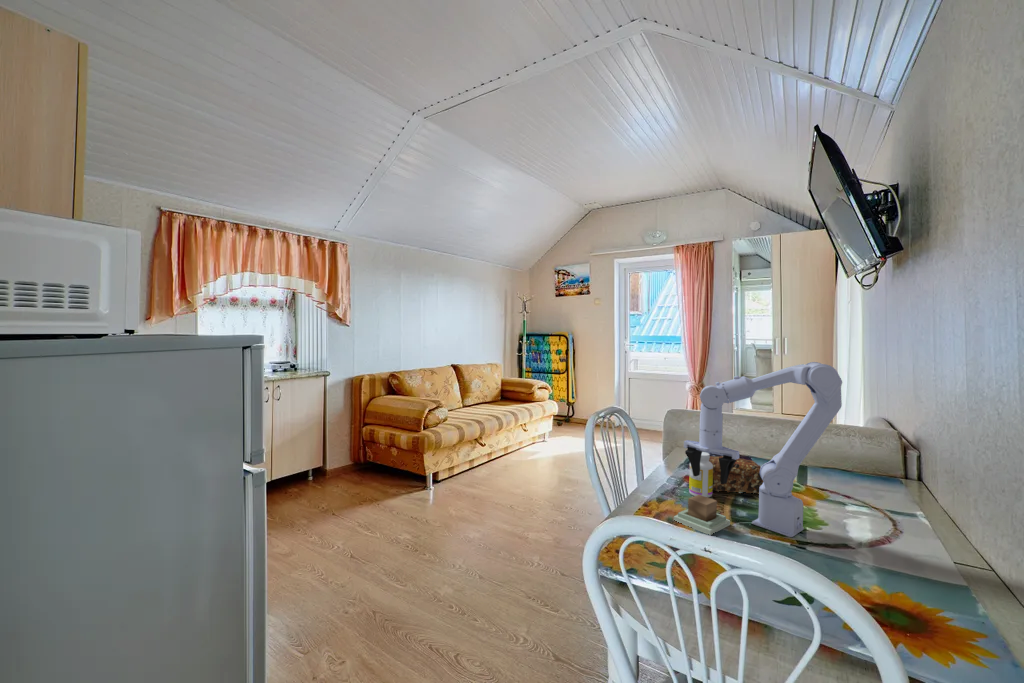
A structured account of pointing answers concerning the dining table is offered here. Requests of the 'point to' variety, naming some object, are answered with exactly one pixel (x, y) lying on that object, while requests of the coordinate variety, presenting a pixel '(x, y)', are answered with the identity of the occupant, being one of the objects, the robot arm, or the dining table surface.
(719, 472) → the bread
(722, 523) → the plate
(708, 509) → the cube
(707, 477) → the supplement bottle
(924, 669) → the dining table surface
